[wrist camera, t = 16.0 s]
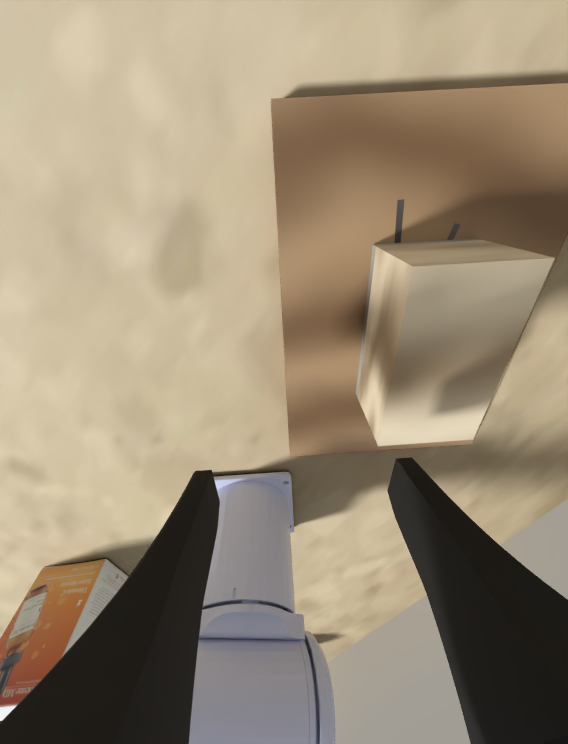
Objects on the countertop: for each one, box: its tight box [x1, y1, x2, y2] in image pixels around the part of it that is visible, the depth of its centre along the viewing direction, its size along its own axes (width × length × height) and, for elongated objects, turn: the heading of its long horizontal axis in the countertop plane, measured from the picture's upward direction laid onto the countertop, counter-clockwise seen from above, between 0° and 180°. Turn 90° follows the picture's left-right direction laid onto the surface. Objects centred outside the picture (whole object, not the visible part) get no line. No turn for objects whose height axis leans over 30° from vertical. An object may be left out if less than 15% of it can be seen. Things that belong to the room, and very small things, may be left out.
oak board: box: [271, 83, 568, 457], centre depth 17 cm, size 20×14×1 cm
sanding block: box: [356, 238, 555, 446], centre depth 14 cm, size 9×5×4 cm, turn 3°
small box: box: [0, 559, 128, 721], centre depth 28 cm, size 8×6×10 cm
